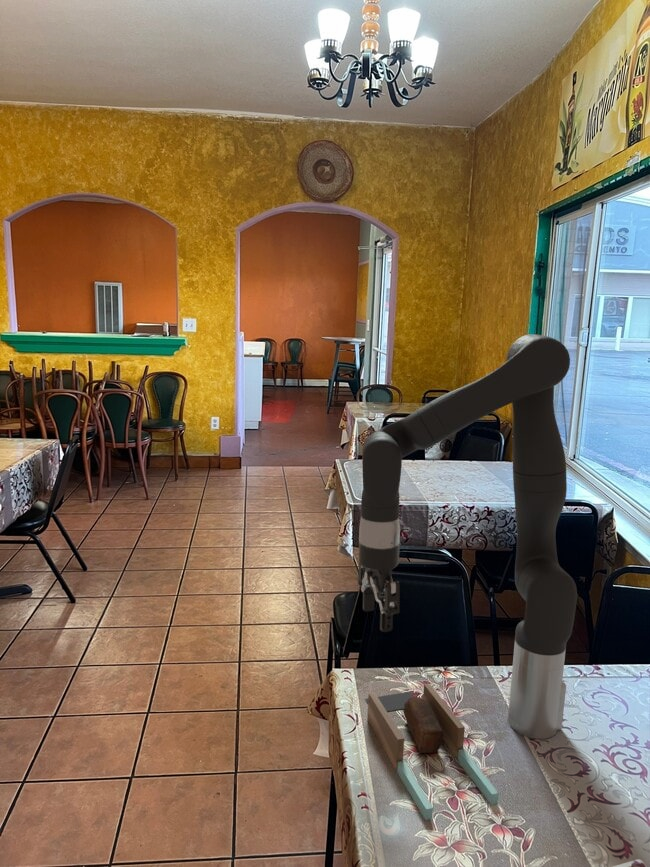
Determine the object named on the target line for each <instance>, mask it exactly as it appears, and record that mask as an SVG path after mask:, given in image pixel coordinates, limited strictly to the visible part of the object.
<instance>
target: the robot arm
mask: <svg viewBox="0 0 650 867" xmlns="http://www.w3.org/2000/svg"><path fill="white" fill-rule="evenodd" d="M570 366H571V356H570V353H569V350H568V349H567V348H566V346H565V345H564V344H563V343H562V342H561V341H559V340H558V339H555V338H553V337H551V336H547V335H541V334H537V333H535V334H534V333H533V334H531V333H530V334H525V335H522V336H520V337H519V338H518V339H516V340H515V341H514V342H513V343H512V344H511V346H510V347H509V350H508V353H507V355H506V361H505V362H503V363H502V365H500V366H499V367H497V368H496V369H494V370H493V371H491V372H490V373H488V374H487V375H484V376H483V377H481V378H479V379H477V380H475V381H472V382H471V383H468V384H466V385H464V386H461V387H459V388H457V389H454V390H452V391H449V392H447V393H444V394H443V395H441V396H439V397H437V398H435V399H433V400H431V401H430V402H428V403H426V404H425V405H423V406H421V407H420V408H418V409H417V410H415V411H413V412H412V413H410V414H409V415H407V416H406V417H403V418H401V419H399V420H396V421H395V422H392V423H389V424H388V425H385V426H383V427H381V428H380V429H378V430H376V431H374V432H372V433H371V434H370V435H368V436H367V438H366V439H365V440H364V442H363V445H362V454H361V455H362V456H361V457H362V458H361V460H362V461H361V462H362V465H361V466H362V468H361V469H362V492H361V502H360V503H361V504H360V506H361V508H360V521H359V530H358V532H359V533H358V534H359V535H358V573H357V574H358V576H357V585H358V586H359V587H360V586H361V588H360V590H361V592H362V610H363V611H364V612H366V613H367V612H373V611H374V610H375V601H376V602H377V603H378V604H379V605H378V606H379V610H380V613H379V615H380V617H379V618H380V619H379V629H380V631H381V632H383V633H388V632H391V631H393V627H394V626H393V624H394V622H393V621H394V615H396V614H400V607H401V606H400V603H401V602H400V601H401V600H400V597H401V596H400V594H401V592H400V589H401V588H400V585H401V584H400V581H398V580H396V581H393V577H392V571H393V569H395V568H396V567H398V565H399V563H400V538H401V536H400V535H401V525H400V491H399V490H400V486H401V485H400V484H401V476H402V475H401V474H402V463H403V458H404V457H405V458H406V456H409V455H410V454H413V453H414V452H416V451H418V450H427V449H430V448H432V447H433V446H435V445H437V444H439V443H440V442H442V441H444V440H446V439H448V438H450V437H451V436H453V435H455V434H456V433H458V432H460V431H461V430H463V429H465V428H467V427H468V426H470V425H471V424H473V423H475V422H477V421H479V420H481V419H482V418H484V417H486V416H487V415H490V414H491V413H493V412H495V411H498V410H499V409H502V408H503V407H506V406H508V405H510V404H511V405H512V416H513V417H512V420H513V422H512V425H513V426H512V480H513V481H512V484H513V494H514V508H515V510H514V511H515V512H514V513H515V522H516V552H515V563H514V564H515V565H514V582H515V583H514V584H515V587H516V590H517V592H518V593H519V595H520V597H521V598H522V599H523V600H524V601H525V613H524V620H522V621H520V622H518V624H517V625H516V627H515V632H514V633H515V636H514V646H513V657H512V658H513V659H512V669H511V679H510V680H511V681H510V689H509V690H510V691H509V702H508V710H507V711H508V713H507V721H508V724H509V726H510V727H511V728H512V729H513V730H514V731H515V732H517V733H519V734H520V735H522V736H525V737H527V738H531V739H537V740H545V739H549V738H551V737H554V736H555V735H556V734H557V732H558V731H561V730H562V729H563V720H564V711H565V701H566V691H567V685H566V683H565V682H564V681H563V679H564V678H563V677H564V669H565V658H566V649H567V642H568V641H569V639H570V638H571V636H572V633H573V628H574V621H575V616H576V609H577V602H578V601H577V600H578V590H577V589H578V588H577V585H576V582H575V580H574V579H573V578H572V577H571V575H570V574H569V573H568V572H566V571H565V570H564V569H563V568H562V567H561V566H560V563H559V559H558V553H557V542H556V532H557V526H558V521H559V519H560V517H561V514H562V511H563V509H564V506H565V503H566V499H567V488H568V487H567V486H568V485H567V484H568V482H567V480H568V479H567V461H566V455H565V454H566V453H565V449H564V445H563V440H562V438H561V434H560V429H559V427H558V424H557V419H556V414H555V405H554V404H555V401H554V398H555V397H554V396H555V386H557V385H558V384H559V383H561V382H562V381H563V380H564V379H565V377H566V375H567V374H568V372H569V370H570ZM383 594H384V595H383Z"/></svg>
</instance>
